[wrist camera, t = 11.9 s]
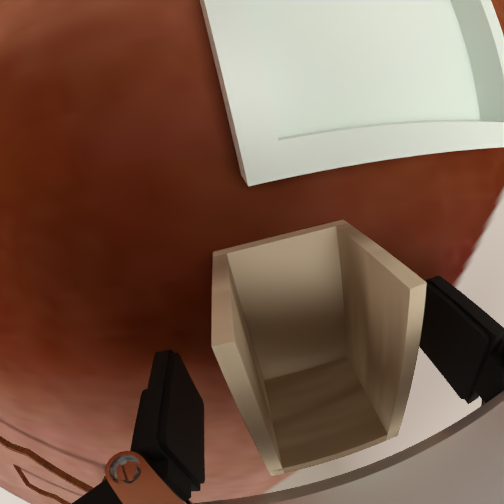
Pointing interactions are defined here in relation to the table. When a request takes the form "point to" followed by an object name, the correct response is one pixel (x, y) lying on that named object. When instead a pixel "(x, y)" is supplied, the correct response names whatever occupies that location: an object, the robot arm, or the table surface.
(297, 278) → the beige open holder
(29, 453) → the glasses
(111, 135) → the table surface
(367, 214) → the table surface
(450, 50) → the tray
